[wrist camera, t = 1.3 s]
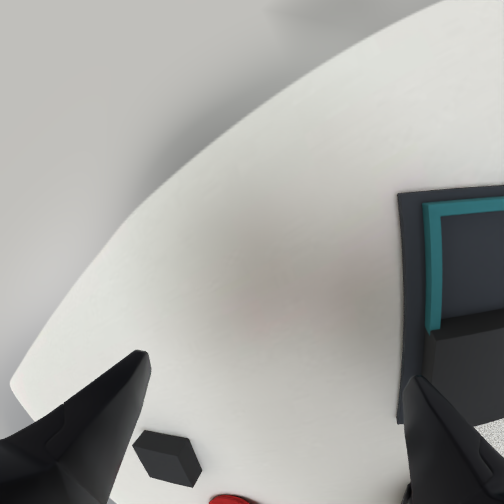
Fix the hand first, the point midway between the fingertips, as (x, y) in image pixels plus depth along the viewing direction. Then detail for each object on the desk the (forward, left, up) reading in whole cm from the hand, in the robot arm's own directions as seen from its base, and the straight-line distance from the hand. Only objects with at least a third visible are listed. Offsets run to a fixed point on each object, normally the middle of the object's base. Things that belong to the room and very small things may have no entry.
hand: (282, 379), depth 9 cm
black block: (-21, +18, -13) cm, 30 cm away
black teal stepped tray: (-5, -12, -13) cm, 19 cm away
